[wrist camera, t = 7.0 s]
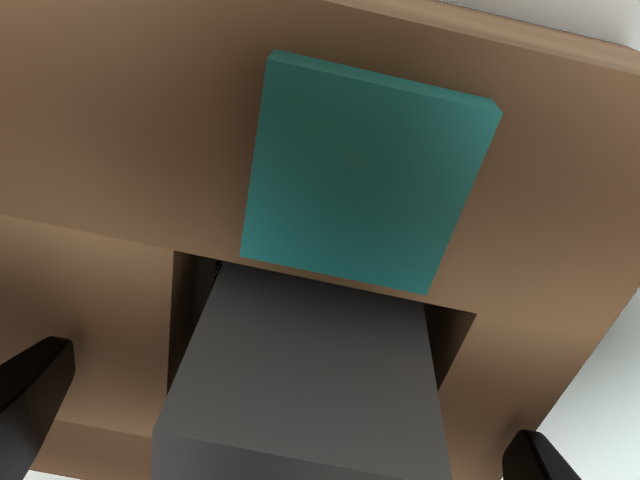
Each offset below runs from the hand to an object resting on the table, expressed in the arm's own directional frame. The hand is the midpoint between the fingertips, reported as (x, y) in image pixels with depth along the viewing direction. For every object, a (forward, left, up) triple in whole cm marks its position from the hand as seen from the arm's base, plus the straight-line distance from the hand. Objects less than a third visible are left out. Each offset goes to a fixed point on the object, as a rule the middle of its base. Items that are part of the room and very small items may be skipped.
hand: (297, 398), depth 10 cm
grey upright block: (0, 0, -4) cm, 4 cm away
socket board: (+1, +4, -4) cm, 6 cm away
